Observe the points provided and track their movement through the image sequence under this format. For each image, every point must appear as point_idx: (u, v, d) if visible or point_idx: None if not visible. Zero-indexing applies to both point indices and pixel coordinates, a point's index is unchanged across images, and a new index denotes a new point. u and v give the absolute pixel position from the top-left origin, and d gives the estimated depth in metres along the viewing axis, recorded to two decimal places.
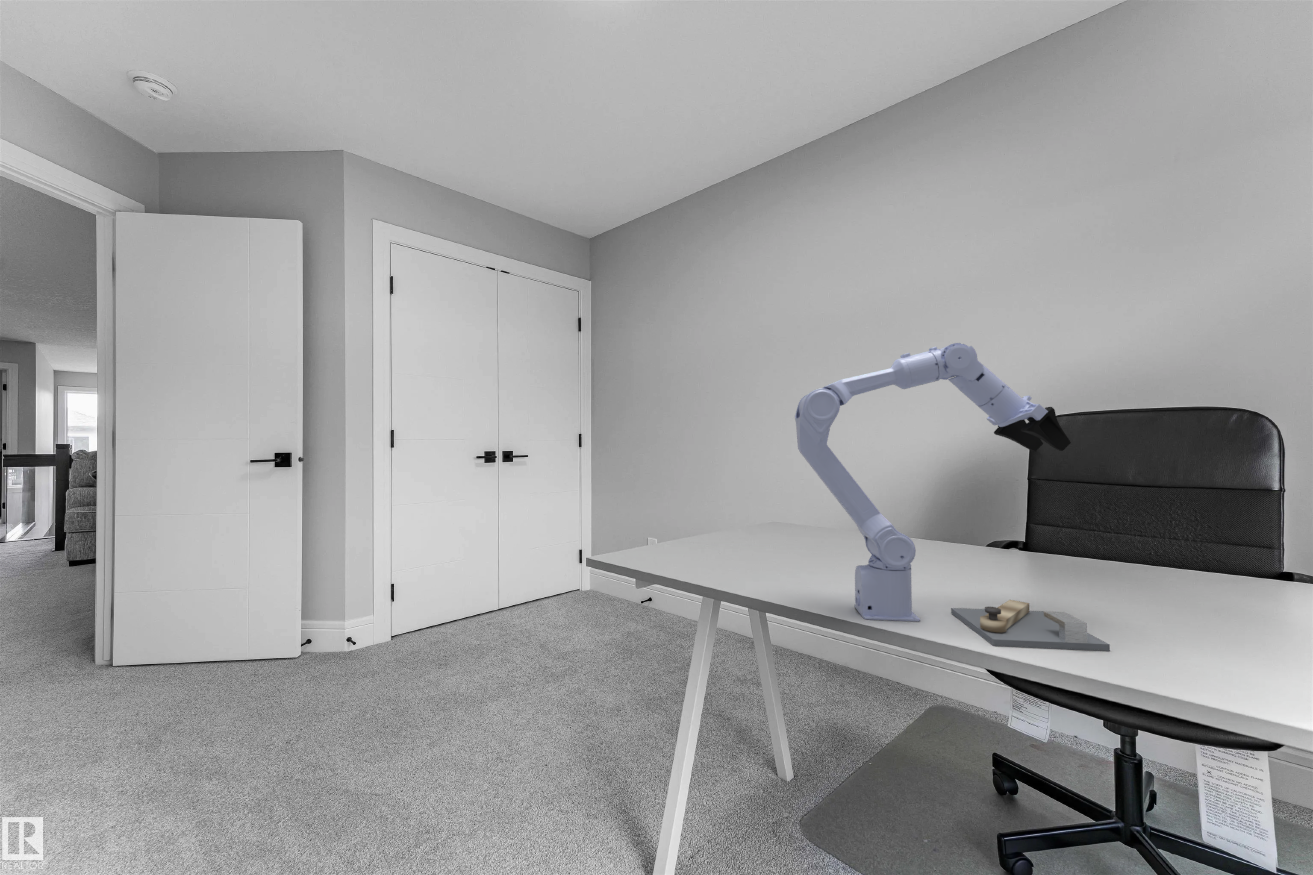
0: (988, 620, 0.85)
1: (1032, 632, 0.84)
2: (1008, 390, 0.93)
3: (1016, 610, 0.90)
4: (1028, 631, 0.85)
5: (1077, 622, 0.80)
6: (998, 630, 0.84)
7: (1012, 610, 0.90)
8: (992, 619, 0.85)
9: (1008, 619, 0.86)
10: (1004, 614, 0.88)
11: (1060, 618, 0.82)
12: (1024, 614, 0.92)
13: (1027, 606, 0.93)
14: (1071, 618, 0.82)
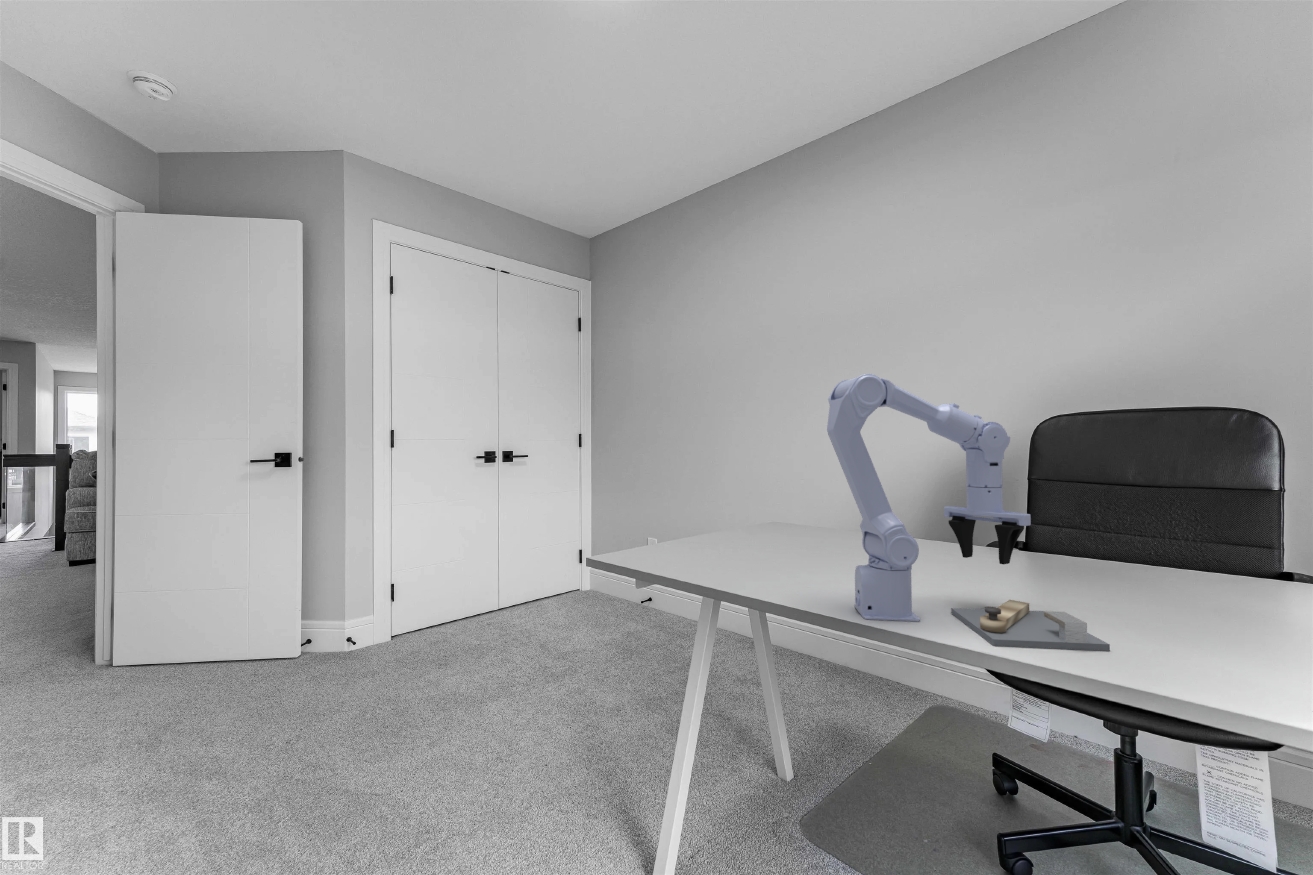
0: (988, 620, 0.85)
1: (1032, 632, 0.84)
2: None
3: (1016, 610, 0.90)
4: (1028, 631, 0.85)
5: (1077, 622, 0.80)
6: (998, 630, 0.84)
7: (1012, 610, 0.90)
8: (992, 619, 0.85)
9: (1008, 619, 0.86)
10: (1004, 614, 0.88)
11: (1060, 618, 0.82)
12: (1024, 614, 0.92)
13: (1027, 606, 0.93)
14: (1071, 618, 0.82)
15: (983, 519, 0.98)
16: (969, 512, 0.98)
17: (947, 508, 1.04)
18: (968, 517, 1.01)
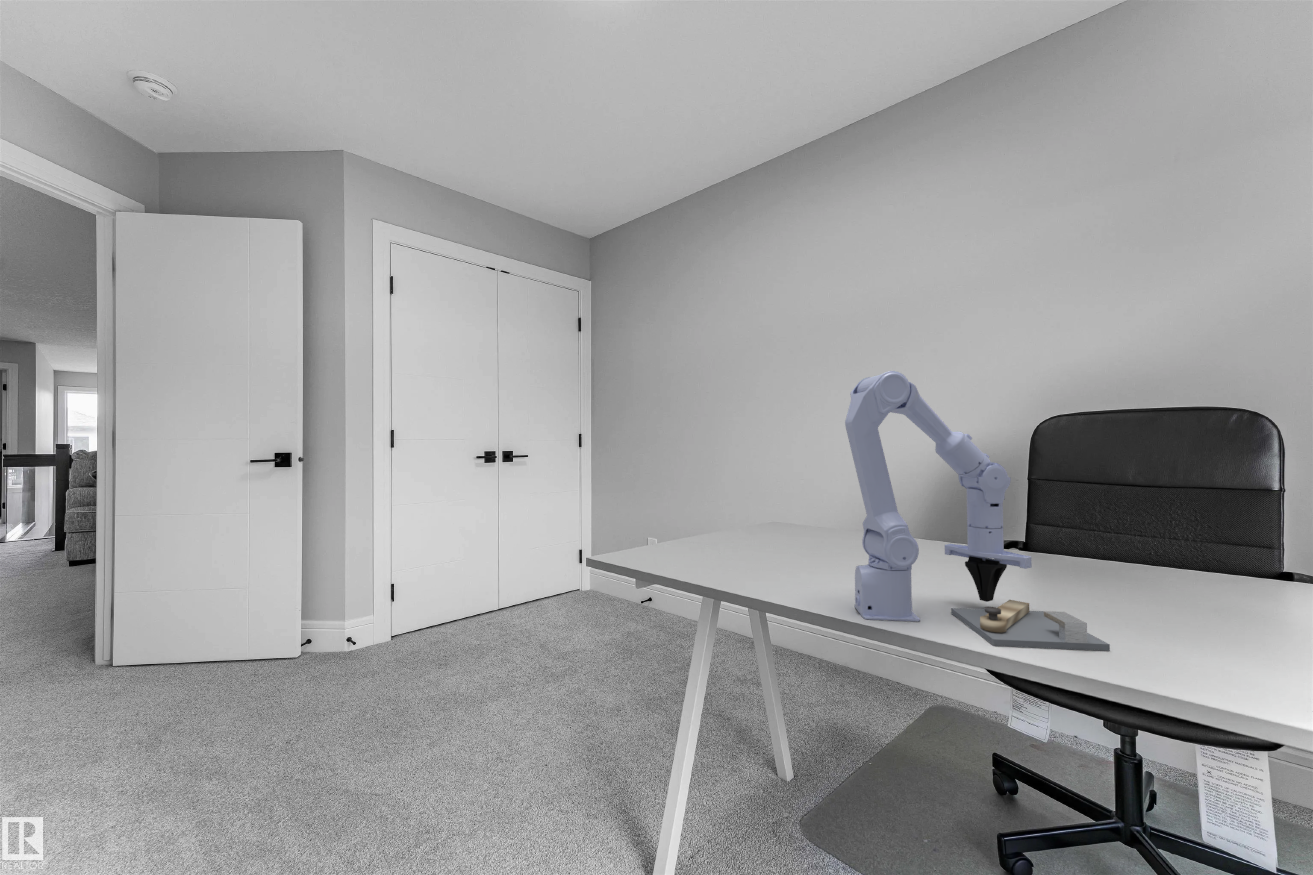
0: (988, 620, 0.85)
1: (1032, 632, 0.84)
2: None
3: (1016, 610, 0.90)
4: (1028, 631, 0.85)
5: (1077, 622, 0.80)
6: (998, 630, 0.84)
7: (1012, 610, 0.90)
8: (992, 619, 0.85)
9: (1008, 619, 0.86)
10: (1004, 614, 0.88)
11: (1060, 618, 0.82)
12: (1024, 614, 0.92)
13: (1027, 606, 0.93)
14: (1071, 618, 0.82)
15: (984, 559, 0.98)
16: (970, 552, 0.98)
17: (948, 546, 1.03)
18: (969, 556, 1.01)
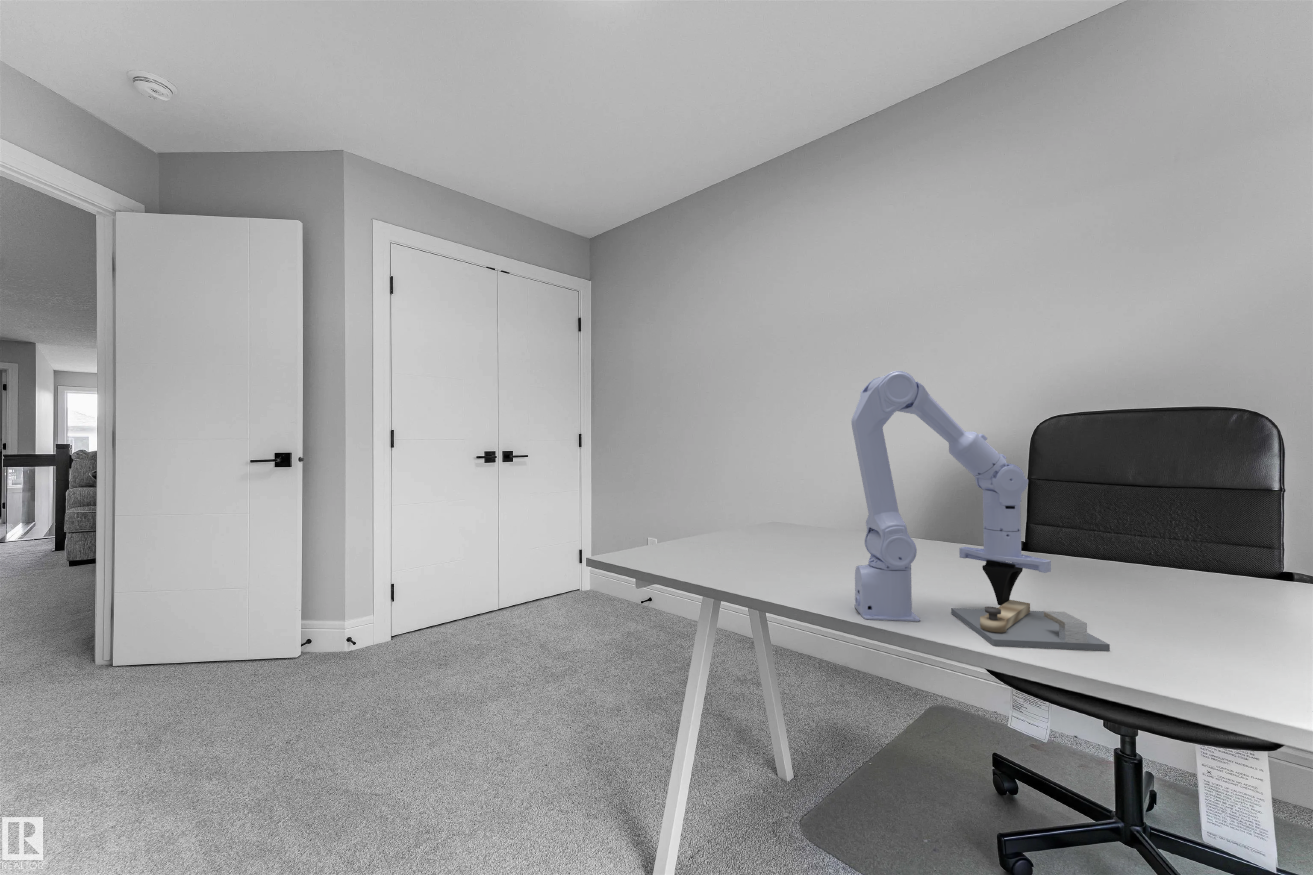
0: (988, 620, 0.85)
1: (1032, 632, 0.84)
2: None
3: (1016, 610, 0.90)
4: (1028, 631, 0.85)
5: (1077, 622, 0.80)
6: (998, 630, 0.84)
7: (1012, 610, 0.90)
8: (992, 619, 0.85)
9: (1008, 619, 0.86)
10: (1004, 614, 0.88)
11: (1060, 618, 0.82)
12: (1025, 614, 0.92)
13: (1028, 606, 0.93)
14: (1071, 618, 0.82)
15: (1001, 562, 0.96)
16: (986, 555, 0.95)
17: (963, 549, 1.01)
18: (985, 559, 0.98)
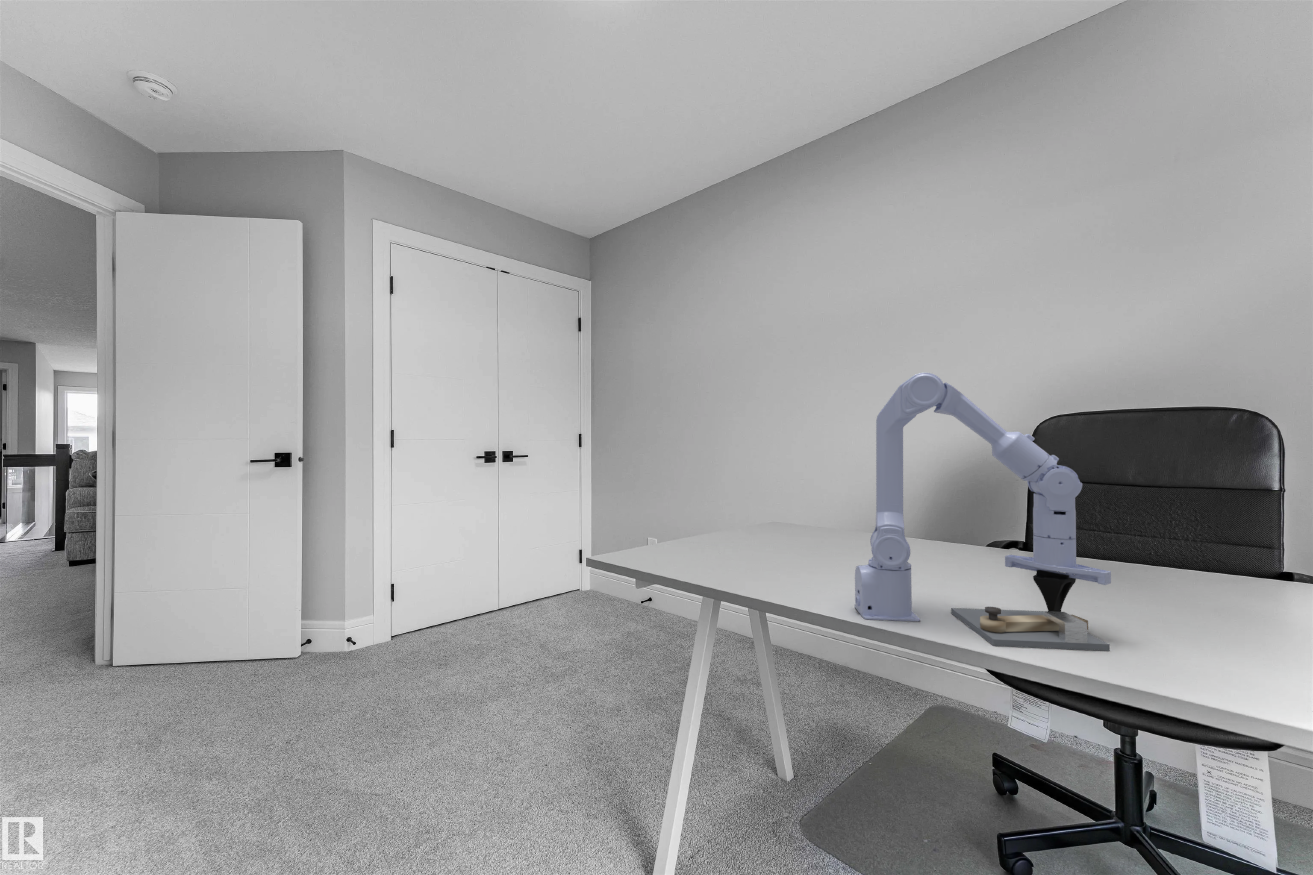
0: (984, 618, 0.86)
1: (1032, 632, 0.84)
2: None
3: (1047, 620, 0.84)
4: (1028, 631, 0.85)
5: (1077, 622, 0.80)
6: (989, 629, 0.84)
7: (1041, 619, 0.85)
8: (989, 618, 0.85)
9: (1014, 623, 0.84)
10: (1019, 619, 0.85)
11: (1060, 618, 0.82)
12: None
13: None
14: (1071, 618, 0.82)
15: (1053, 573, 0.88)
16: (1037, 565, 0.88)
17: (1009, 557, 0.93)
18: (1034, 569, 0.91)
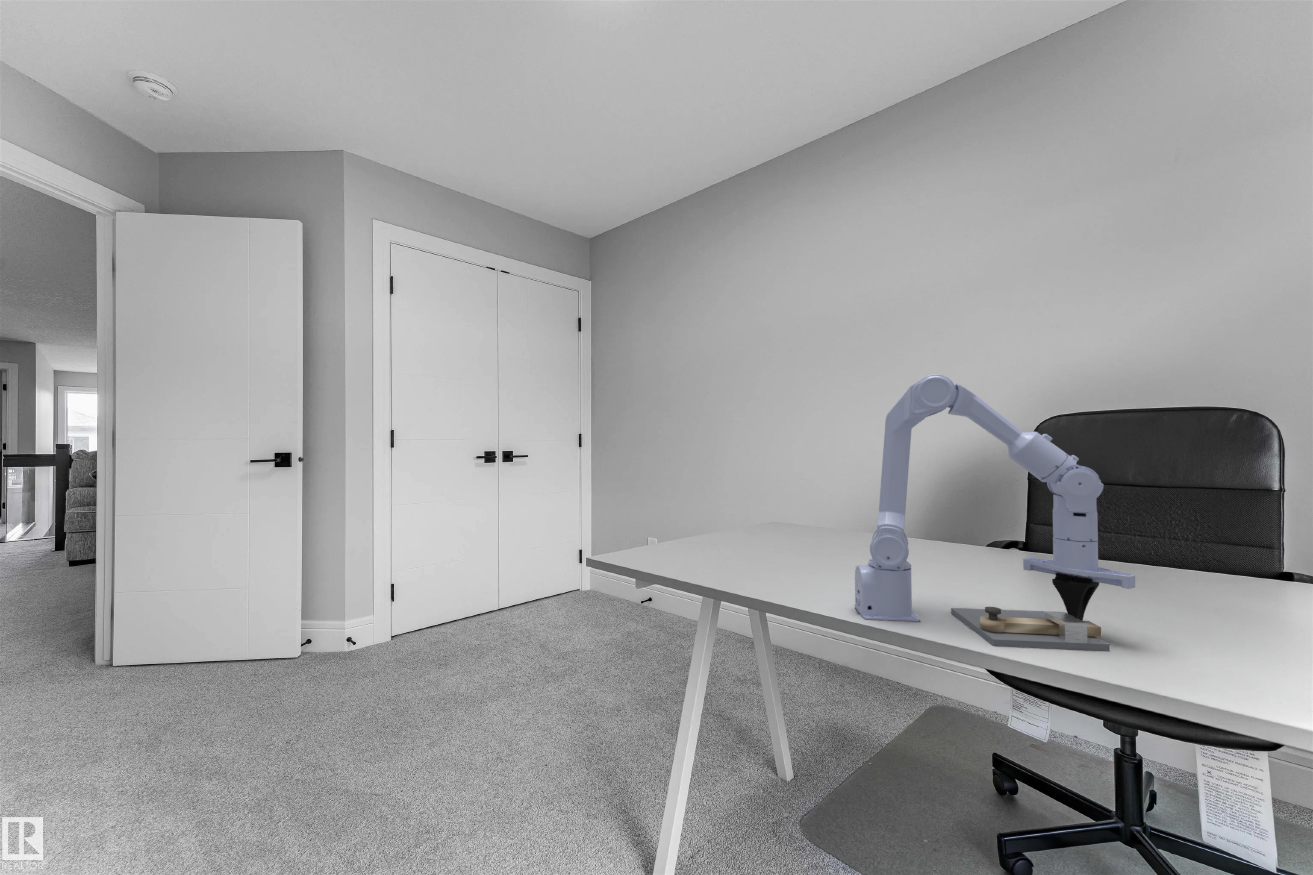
0: (983, 618, 0.86)
1: None
2: None
3: (1052, 624, 0.83)
4: None
5: (1077, 622, 0.80)
6: (986, 628, 0.84)
7: (1047, 623, 0.83)
8: (988, 618, 0.85)
9: (1014, 624, 0.83)
10: (1022, 621, 0.84)
11: (1060, 618, 0.82)
12: None
13: (1092, 629, 0.82)
14: (1071, 618, 0.82)
15: (1074, 576, 0.86)
16: (1058, 568, 0.85)
17: (1027, 560, 0.91)
18: (1054, 572, 0.88)
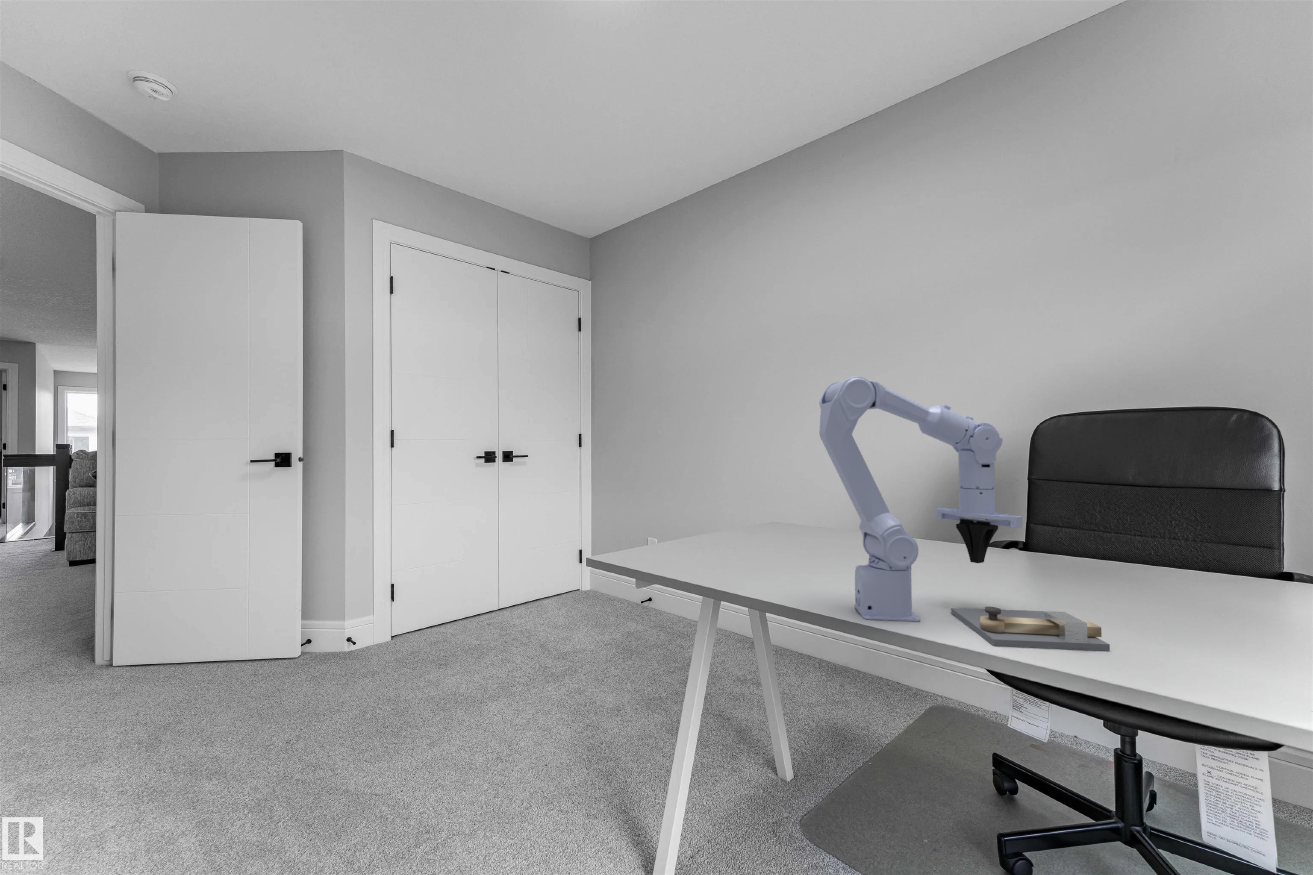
0: (983, 618, 0.86)
1: None
2: (994, 493, 0.97)
3: (1052, 624, 0.83)
4: None
5: (1077, 622, 0.80)
6: (986, 628, 0.84)
7: (1047, 623, 0.83)
8: (988, 618, 0.85)
9: (1014, 624, 0.83)
10: (1022, 621, 0.84)
11: (1060, 618, 0.82)
12: None
13: (1092, 629, 0.81)
14: (1071, 618, 0.82)
15: (975, 521, 0.98)
16: (961, 514, 0.98)
17: (939, 509, 1.03)
18: (960, 519, 1.00)
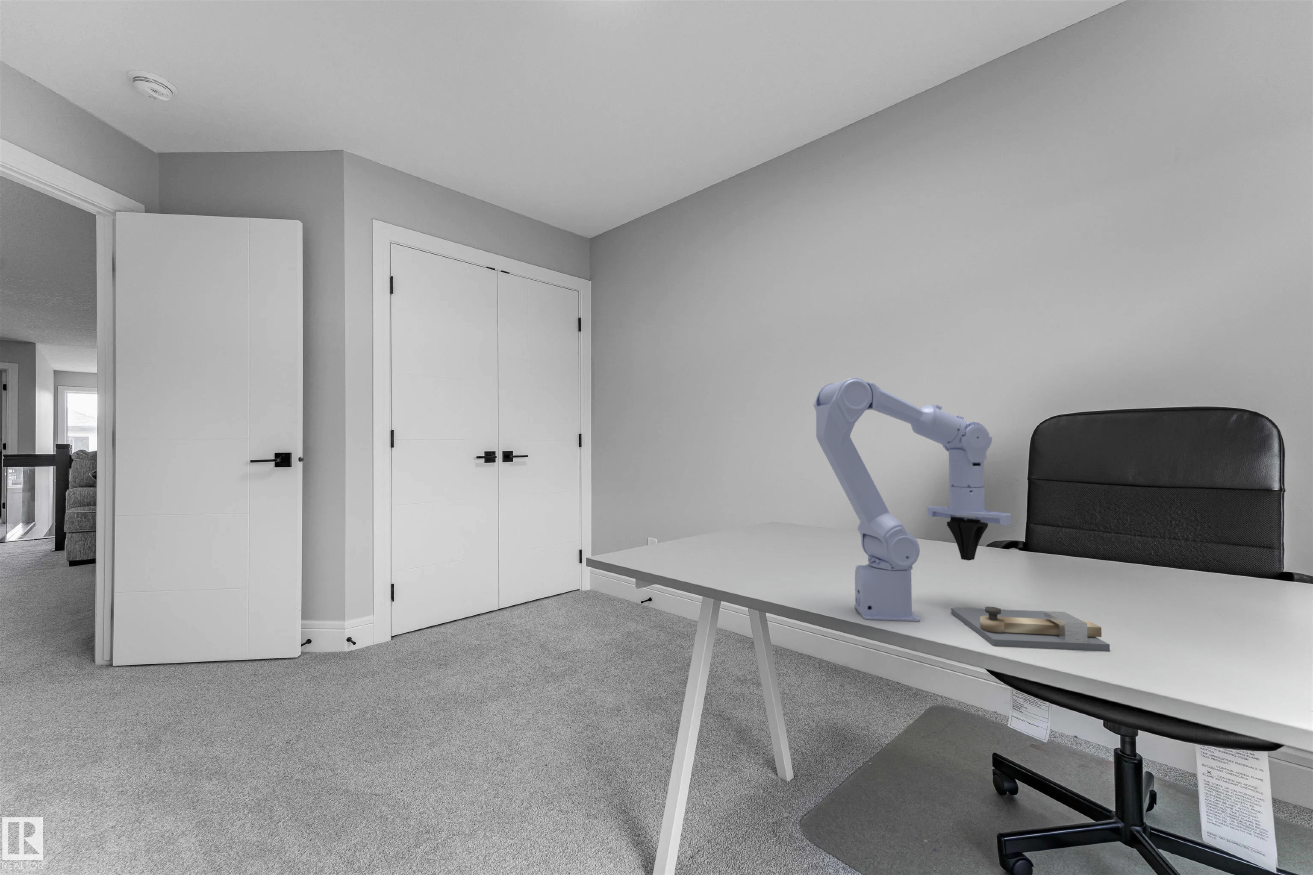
0: (983, 618, 0.86)
1: None
2: (984, 491, 0.98)
3: (1052, 624, 0.83)
4: None
5: (1077, 622, 0.80)
6: (986, 628, 0.84)
7: (1047, 623, 0.83)
8: (988, 618, 0.85)
9: (1014, 624, 0.83)
10: (1022, 621, 0.84)
11: (1060, 618, 0.82)
12: None
13: (1092, 629, 0.81)
14: (1071, 618, 0.82)
15: (965, 519, 0.99)
16: (951, 512, 0.99)
17: (930, 508, 1.04)
18: (951, 517, 1.01)
